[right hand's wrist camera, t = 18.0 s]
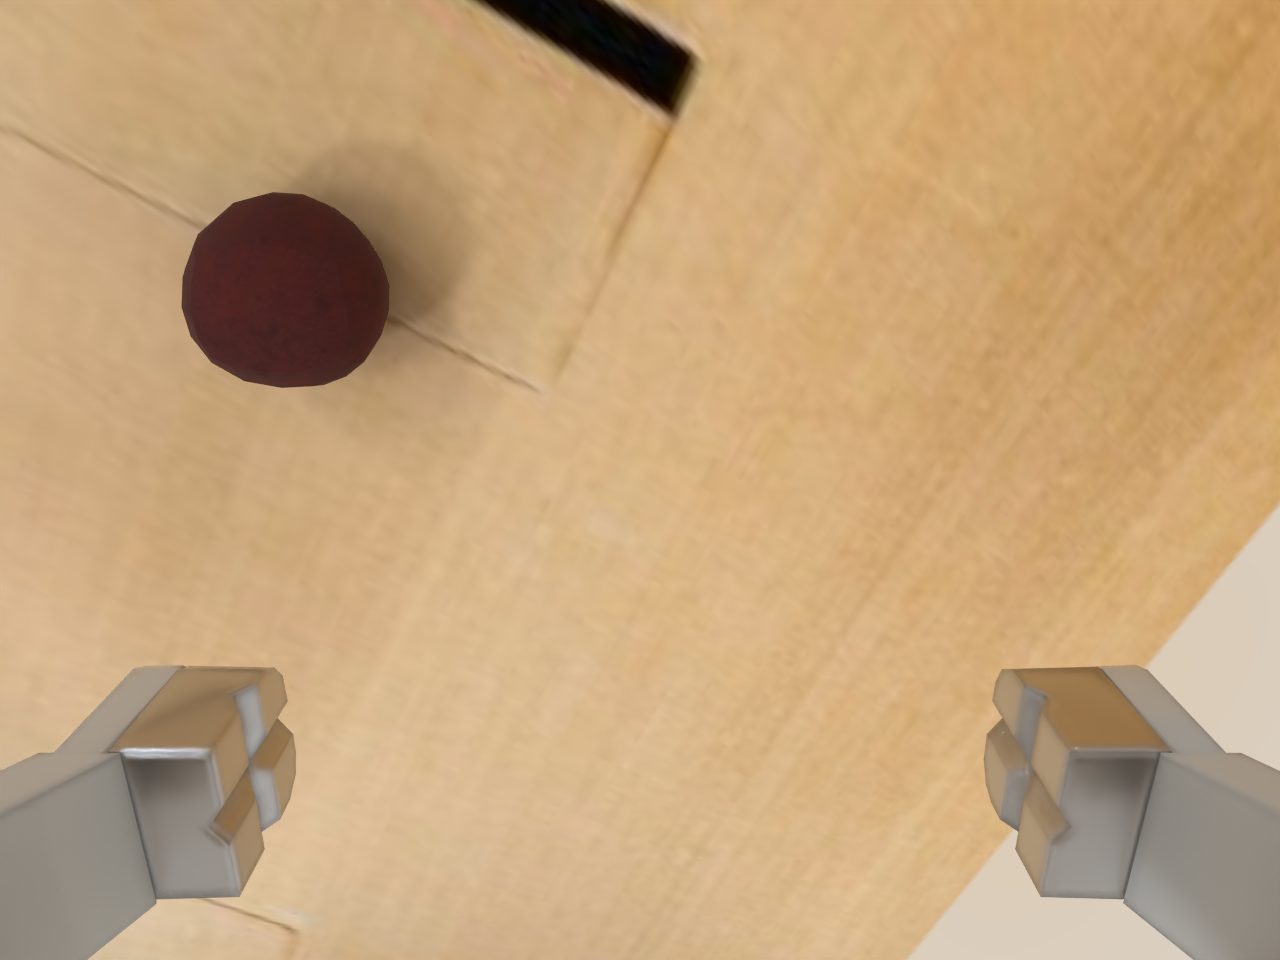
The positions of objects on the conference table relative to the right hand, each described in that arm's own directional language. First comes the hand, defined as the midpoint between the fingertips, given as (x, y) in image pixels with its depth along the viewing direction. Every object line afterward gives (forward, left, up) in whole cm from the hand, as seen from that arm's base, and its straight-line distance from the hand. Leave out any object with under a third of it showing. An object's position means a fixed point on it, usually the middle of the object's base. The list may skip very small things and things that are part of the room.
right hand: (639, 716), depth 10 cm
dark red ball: (0, -14, -31) cm, 34 cm away
